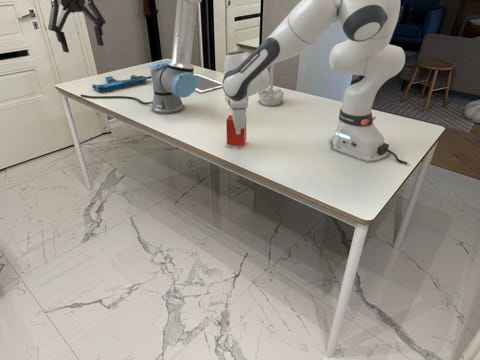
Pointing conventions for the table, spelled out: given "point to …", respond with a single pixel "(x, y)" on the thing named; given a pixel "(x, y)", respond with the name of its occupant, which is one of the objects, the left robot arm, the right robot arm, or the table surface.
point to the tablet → (206, 83)
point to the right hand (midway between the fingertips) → (237, 129)
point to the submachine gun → (119, 83)
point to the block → (231, 133)
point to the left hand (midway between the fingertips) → (84, 48)
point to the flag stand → (271, 93)
